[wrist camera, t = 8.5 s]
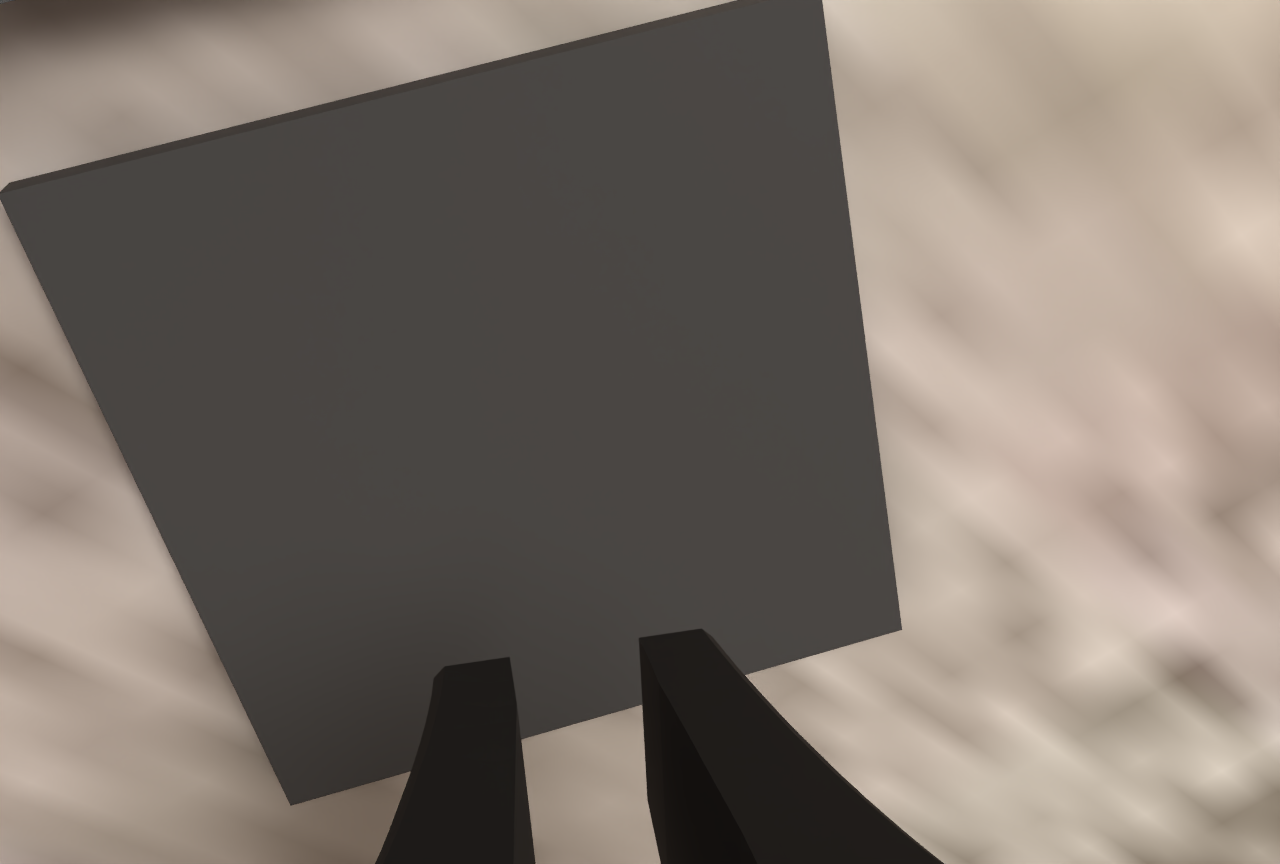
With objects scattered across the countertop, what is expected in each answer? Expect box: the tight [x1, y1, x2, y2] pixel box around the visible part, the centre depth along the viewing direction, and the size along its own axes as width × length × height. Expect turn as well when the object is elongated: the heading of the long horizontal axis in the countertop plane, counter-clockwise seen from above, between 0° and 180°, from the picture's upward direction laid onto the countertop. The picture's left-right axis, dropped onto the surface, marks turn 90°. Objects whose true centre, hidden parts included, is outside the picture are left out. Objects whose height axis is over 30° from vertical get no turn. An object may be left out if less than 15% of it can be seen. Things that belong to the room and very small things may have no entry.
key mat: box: [0, 0, 902, 805], centre depth 17 cm, size 10×10×1 cm
